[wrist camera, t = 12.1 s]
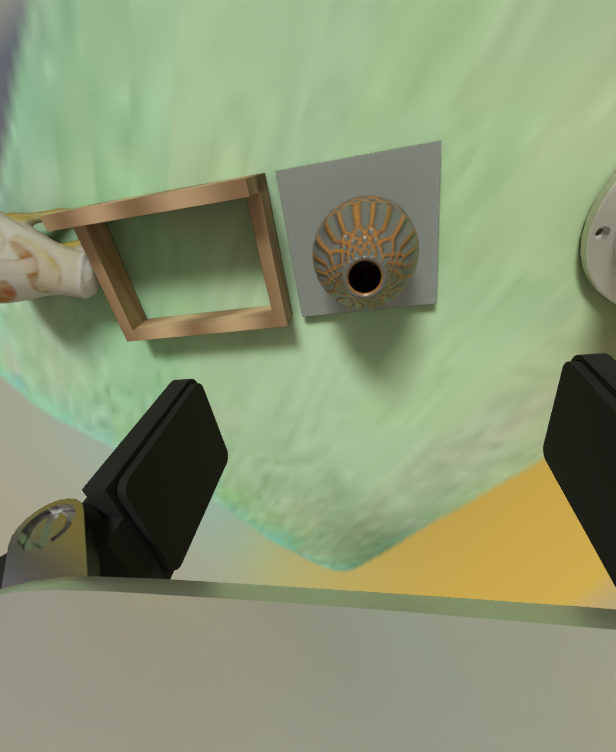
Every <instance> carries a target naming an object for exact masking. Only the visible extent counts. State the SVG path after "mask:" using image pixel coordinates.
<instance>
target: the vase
mask: <svg viewBox="0 0 616 752" xmlns="http://www.w3.org/2000/svg"><path fill="white" fill-rule="evenodd" d="M312 258H313V266H314V270H315V273H316V276H317V278H318V280H319V282H320V284H321V286H322V287H323V289H324V290H325V291H326V292H327V293H328V294H329V295H330V296H331V297H332V298H333V299H335V300H336V301H338V302H339V303H341V304H343V305H346V306H348V307H352V308H358V309H368V308H374V307H378V306H381V305H383V304H386V303H388V302H389V301H391V300H393V299H394V298H395V297H397V296H398V295H399V294H400V293H401V292H402V291H403V290H404V289H405V288H406V286H407V285H408V284H409V282H410V280H411V279H412V277H413V275H414V273H415V270H416V267H417V264H418V259H419V239H418V235H417V231H416V228H415V226H414V224H413V222H412V220H411V218H410V217H409V216H408V214H407V213H406V212H405V211H404V210H403V209H402V208H401V207H400V206H399V205H397V204H396V203H394V202H393V201H391V200H389V199H386V198H384V197H380V196H375V195H362V196H356V197H353V198H350V199H348V200H346V201H344V202H342V203H340V204H339V205H337V206H336V207H335V208H334V209H332V210H331V211H330V212H329V213H328V215H327V216H326V217H325V218H324V220H323V221H322V223H321V224H320V226H319V228H318V230H317V233H316V236H315V239H314V243H313V251H312Z"/></svg>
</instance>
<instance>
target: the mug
mask: <svg viewBox="0 0 616 752" xmlns="http://www.w3.org/2000/svg"><path fill="white" fill-rule="evenodd" d="M66 210H70V209H55V210H49V211H44V212H36V213H29V214H27V213H8V214H5V213H2V212H0V303H12V302H19V301H26V300H30V299H35V298H41V297H46V296H53V295H64V296H72V297H78V298H84V299H87V298H90V297H91V296H93V295H95V294H96V293H97V292H98V291H99V290H100V288H101V285H100V283H99V281H98V279H97V277H96V275H95V272H94V270H93V268H92V266H91V264H90V262H89V260H88V258H87V256H86V254H85V251H84V249H83V247H82V245H81V243H80V241H79V240H77V241H70V242H66V243H63V244H60V243H58V242H56V241H54V240H52V239H51V238H49V237H47V236H46V235H44V234H42V233H41V232H39V231H38V230H36V229H34V228H33V225H35V224H37V223H41V222H42V220H41V218H40V216H44V215H48V214H52V213H57V212H61V211H66Z"/></svg>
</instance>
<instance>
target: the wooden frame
mask: <svg viewBox="0 0 616 752" xmlns="http://www.w3.org/2000/svg"><path fill="white" fill-rule="evenodd" d="M245 197H246V199H247V203H248V208H249V212H250V217H251V221H252V225H253V230H254V234H255V239H256V243H257V247H258V252H259V256H260V260H261V265H262V269H263V274H264V278H265V282H266V287H267V291H268V296H269V300H270V304H271V306H263V307H254V308H245V309H235V310H226V311H217V312H208V313H198V314H189V315H180V316H171V317H161V318H152V319H147V318H146V316H145V314H144V311H143V309H142V307H141V304H140V302H139V300H138V297H137V295H136V293H135V290H134V288H133V286H132V283H131V281H130V279H129V276H128V274H127V272H126V269H125V267H124V265H123V262H122V260H121V258H120V255H119V253H118V251H117V248H116V246H115V244H114V241H113V239H112V237H111V234H110V232H109V230H108V227H107V225H106V223H105V222H106V221H112V220H118V219H124V218H129V217H135V216H141V215H147V214H153V213H158V212H164V211H170V210H176V209H182V208H187V207H193V206H199V205H205V204H211V203H216V202H222V201H228V200H234V199H240V198H245ZM40 218H41V220H42V222H43V223H44V225H45V227H46V229H47V231H54V230H60V229H66V228H71V227H73V228H74V230H75V233H76V235H77V237H78V239H79V241H80V243H81V245H82V247H83V249H84V251H85V254H86V256H87V258H88V260H89V262H90V264H91V266H92V268H93V270H94V272H95V275H96V277H97V279H98V281H99V283H100V285H101V287H102V289H103V291H104V293H105V296H106V298H107V300H108V302H109V304H110V306H111V308H112V310H113V312H114V315H115V317H116V319H117V321H118V323H119V325H120V327H121V329H122V331H123V333H124V336H125V338H126V340H127V342H128V341H139V340H149V339H160V338H170V337H181V336H191V335H202V334H212V333H223V332H233V331H244V330H254V329H264V328H275V327H285V326H288V324H289V321H290V319H291V316H292V310H291V304H290V299H289V294H288V289H287V284H286V279H285V274H284V269H283V264H282V259H281V254H280V249H279V243H278V238H277V233H276V228H275V223H274V218H273V213H272V208H271V203H270V198H269V193H268V188H267V182H266V177H265V173H261V174H256V175H251V176H245V177H240V178H234V179H229V180H224V181H218V182H213V183H207V184H202V185H196V186H191V187H186V188H180V189H175V190H169V191H164V192H159V193H153V194H148V195H142V196H137V197H131V198H126V199H121V200H115V201H110V202H104V203H99V204H94V205H88V206H83V207H79V208H75V209H70V210H66V211H61V212H57V213H52V214H48V215H44V216H40Z"/></svg>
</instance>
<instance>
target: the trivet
mask: <svg viewBox="0 0 616 752" xmlns="http://www.w3.org/2000/svg"><path fill="white" fill-rule="evenodd" d="M440 166H441V141H435V142H429V143H424V144H419V145H413V146H408V147H402V148H397V149H391V150H386V151H381V152H375V153H370V154H364V155H359V156H354V157H348V158H343V159H337V160H332V161H326V162H321V163H316V164H310V165H305V166H299V167H294V168H289V169H283V170H278V171H276V176H277V181H278V187H279V192H280V198H281V203H282V209H283V214H284V220H285V225H286V231H287V236H288V242H289V247H290V253H291V258H292V264H293V269H294V275H295V280H296V286H297V291H298V297H299V302H300V308H301V313H302V317H305V316H315V315H325V314H335V313H345V312H355V311H365V310H375V309H385V308H395V307H405V306H415V305H425V304H435V303H437V270H438V235H439V201H440ZM362 195H375V196H380V197H384V198H386V199H389V200H391V201H393V202H394V203H396V204H397V205H399V206H400V207H401V208H402V209H403V210H404V211H405V212H406V213H407V214H408V216H409V217H410V218H411V220H412V222H413V224H414V226H415V228H416V231H417V235H418V239H419V259H418V264H417V267H416V270H415V273H414V275H413V277H412V279H411V280H410V282H409V284H408V285H407V286H406V288H405V289H404V290H403V291H402V292H401V293H400V294H399V295H398V296H397V297H395V298H394V299H393V300H391V301H389V302H388V303H386V304H383V305H381V306H378V307H374V308H368V309H358V308H352V307H348V306H346V305H343V304H341V303H339V302H338V301H336V300H335V299H333V298H332V297H331V296H330V295H329V294H328V293H327V292H326V291H325V290H324V289H323V287H322V286H321V284H320V282H319V280H318V278H317V276H316V273H315V270H314V266H313V258H312V251H313V243H314V239H315V236H316V233H317V230H318V228H319V226H320V224H321V223H322V221H323V220H324V218H325V217H326V216H327V215H328V213H329V212H330V211H331V210H332V209H334V208H335V207H336V206H337V205H339V204H340V203H342V202H344V201H346V200H348V199H350V198H353V197H356V196H362Z"/></svg>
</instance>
